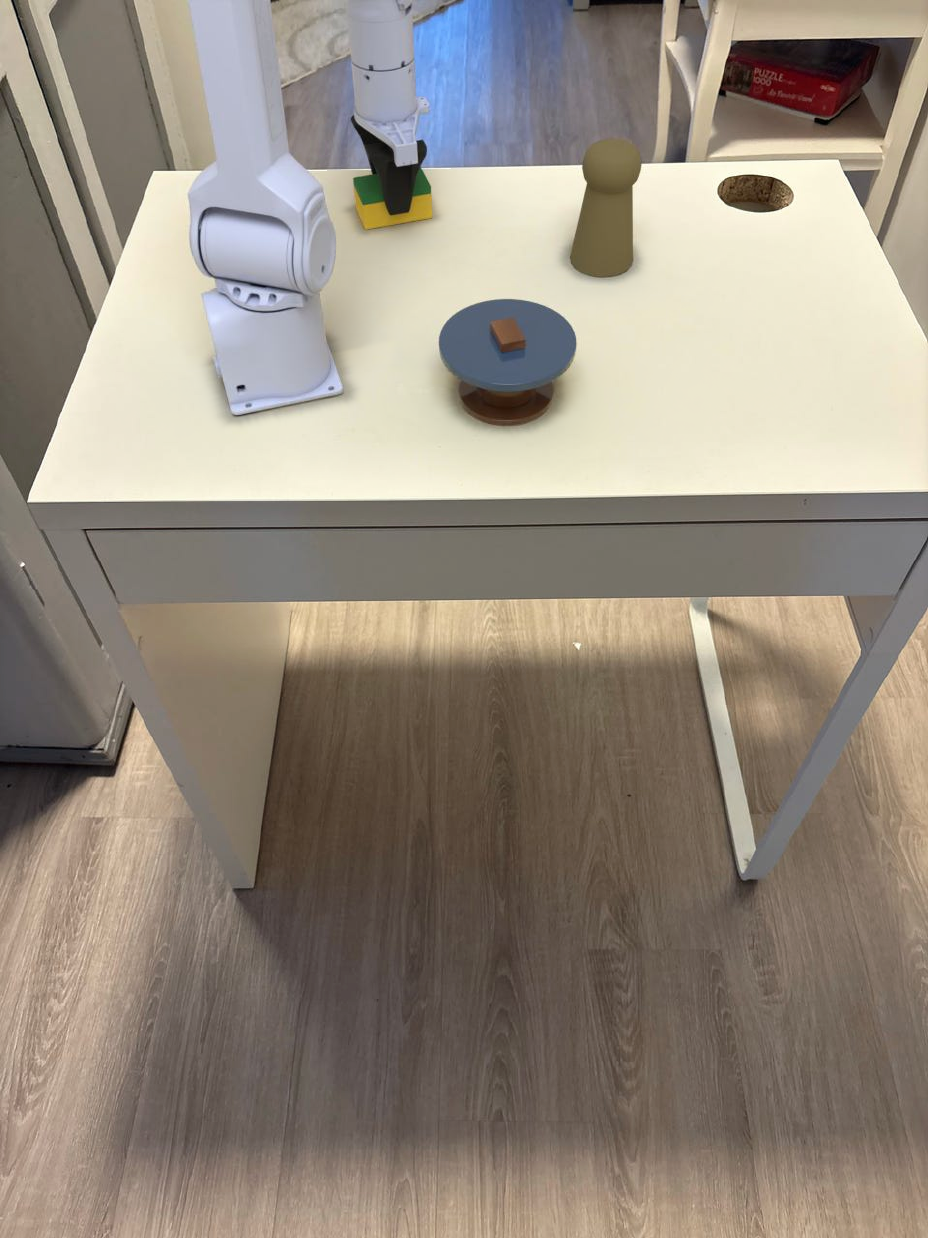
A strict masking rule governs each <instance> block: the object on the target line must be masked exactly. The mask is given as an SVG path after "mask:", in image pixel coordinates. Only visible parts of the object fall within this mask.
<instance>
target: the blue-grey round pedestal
mask: <svg viewBox="0 0 928 1238" xmlns="http://www.w3.org/2000/svg"><path fill="white" fill-rule="evenodd" d="M508 318H514V319H515V321H516V323H517V325H518V326H519V328H520V330H521V332H522V334H523V336H524V337H525V339H526V341H525V348H524V349H519V350H514V351H509V352H504V353H501V351H500V349H499V347H498V345H497V343H496V341H495V339H494V337H493V335H492V333H491V332H490V322H493V321H498V320H503V319H508ZM577 345H578V343H577V335H576V332H575V330H574V328H573V326H572V325H571V323H570V322H569V321H568V320H567V319H566V318H565V317H564V316H563V315H562V314H561V313H559V312H557V311H556V310H554V309H552V308H550V307H549V306H546V305H543V304H541V303H538V302H534V301H530V300H524V299H517V298H496V299H489V300H485V301H480V302H476V303H473V304H470V305H468V306H466V307H464V308H462V309H460V310H458V311H457V312H456V313H454V314H453V315H452V316H450V317H449V319H448V320H446V321H445V323H444V325H443V326H442V328H441V329H440V333H439V335H438V351H439V352H438V353H439V357H440V359H441V361H442V364H443V365H444V366H445V367H446V369H447V370H448V371H449V372H450V373H451V374H452V375H453V376H455V377H456V378H458V379H459V380H460V381H459V383H458V400H459V402H460V405H461V407H462V408H463V409H464V411H465V412H467V413H468V414H469V415H470V416H471V417H472V418H474V419H476V420H478V421H480V422H483V423H486V424H489V425H493V426H501V427H511V426H512V427H513V426H520V425H524V424H528V423H531V422H532V421H535V420H537V419H539V418H541V417H542V416H543V415H544V414H546V413H547V411H548V410H549V409H550V407H551V406H552V404H553V401H554V397H555V385H554V383H553V382H554V381H555V380H557V379H558V378H560V377H561V376H562V375H564V374H565V373H566V372H567V370H568V369H569V368H570V367H571V366H572V364H573V362H574V360H575V357H576V354H577Z"/></svg>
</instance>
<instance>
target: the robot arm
mask: <svg viewBox="0 0 928 1238" xmlns="http://www.w3.org/2000/svg"><path fill="white" fill-rule="evenodd" d="M413 2H414V0H344V4H345V14H346V15H345V16H346V25H347V36H348V45H349V55H350V56H349V57H350V65H351V66H350V67H351V74H352V75H351V76H352V84H353V97H354V105H353V114H352V115H351V117H350V122H351V123H352V126H353V128H354V130H355V131H356V132H357V134H358V136H359V138H360V140H361V143H362V145H363V147H364V151H365V153H366V157H367V160H368V164H369V168H370V171H371V175H372V174H378V177H379V181H380V185H381V189H382V194H383V198H384V202H385V205H386V208H387V210H388V213H389V215H397V214H403V213H408V212H409V211H410V207H411V202H412V197H413V191H414V185H415V181H416V177H417V174H418V171H419V168H420V167H421V166H422V164H423V162H424V160H425V159H426V157H427V155H428V146H427V144H426V142H425V140H424V139H419V140H416V136H417V131H418V124H419V120H420V116H421V115H425V114H428V113H430V103H429V101H428V100H427V98H426V97H425V96H417V82H416V79H417V78H416V59H415V42H414V41H415V40H414V38H415V37H414V19H413V18H414V17H413ZM187 5H188V9H189V16H190V20H191V21H190V22H191V26H192V27H191V28H192V31H193V37H194V38H193V39H194V43H195V48H196V54H197V59H198V64H199V70H200V76H201V81H202V86H203V87H202V88H203V93H204V98H205V103H206V109H207V114H208V120H209V125H210V131H211V137H212V142H213V147H214V153H215V160H214V161H213V162H212V163H210V164H209V165H208V166H207V167H206V168H204V169H203V170H201V172H200V173H199V174H198V175H197V176H196V177H195V178H194V180H193V181H192V184H191V186H190V187H189V190H188V192H187V198H188V204H189V215H190V216H189V217H190V223H189V231H188V232H189V233H188V235H189V236H188V237H189V238H188V239H189V248H190V252H191V253H190V254H191V255H192V258H193V260H194V263H195V266H196V268H197V269H198V270H199V272H200V273H201V274H202V275H203V276H205V277H207V278H211V279H214V283H215V287H214V288H213V289H212V288H211V289H210V290H206V291H204V292H202V293H200V294H201V299H202V303H203V307H204V311H205V312H204V313H205V315H206V320H207V323H208V326H209V331H210V336H211V340H212V343H213V347H214V351H215V354H216V355H214V356H212V358H213V363H214V366H215V370H216V374H217V378H218V379H222V382H223V385H224V390H225V393H226V398H227V401H228V405H229V409H230V413H231V414H232V415H234V416H240V415H244V414H249V413H255V412H260V411H264V410H265V411H266V410H270V409H274V408H275V409H276V408H278V407H284V406H289V405H293V404H294V405H295V404H298V403H304V402H307V401H313V400H318V399H323V398H329V397H332V396H338V395H341V394H342V393H344V386H343V383H342V380H341V377H340V374H339V371H338V370H337V365H336V363H335V360H334V357H333V354H332V351H331V348H330V346H329V343H328V341H327V336H326V335H327V334H326V328H325V322H324V316H323V309H322V302H321V296H320V295H321V294H320V292H321V291H323V289H324V288H325V287H326V286H327V284H328V283H329V281H330V279H331V278H332V275H333V271H334V268H335V263H336V256H337V236H336V229H335V226H334V223H333V221H332V219H331V216H330V213H329V211H328V206H327V202H326V196H325V191H324V185H322V183H321V182H320V181H319V180H318V179H317V178H316V177H315V176H314V175H313V174H312V173H311V172H310V171H308V169H306V167H304V166H303V165H302V164H301V163H300V162H299V161H298V160H297V159H295V157H293V155H292V154H291V153H290V146H289V139H288V131H287V124H286V123H287V122H286V115H285V107H284V100H283V99H284V98H283V91H282V83H281V75H280V74H281V73H280V67H279V59H278V51H277V43H276V35H275V27H274V20H273V13H272V4H271V0H187Z"/></svg>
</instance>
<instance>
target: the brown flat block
mask: <svg viewBox="0 0 928 1238" xmlns="http://www.w3.org/2000/svg"><path fill="white" fill-rule="evenodd" d="M490 332H491V333H492V335H493V337H494V339H495V341H496V343H497V345H498V347H499V349H500V351H501V353H504V352H509V351H514V350H519V349H524V348H525V341H526V339H525V337H524V336H523V334H522V332H521V330H520V328H519V326H518V325H517V323H516V321H515V319H514V318H508V319H503V320H498V321H493V322H490Z"/></svg>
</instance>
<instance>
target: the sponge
mask: <svg viewBox="0 0 928 1238" xmlns="http://www.w3.org/2000/svg"><path fill="white" fill-rule="evenodd" d="M352 183H353V191H354V201H355V210H356V213H357V215H358V216H359V219H360V221H361V224H362V225H363V228H364V230H370V229H371V230H372V229H377V228H383V227H389V226H393V225H399V224H406V223H410V222H411V223H412V222H417V221H422V220H427V219H428V220H429V219H433V202H432V201H433V200H432V198H433V197H432V185H431V184H430V181H429V180H428V178H427V176H426V174H425V172H424V170H423V168H422V167H421V166H420V168H419V171H418V174H417V177H416V181H415V185H414V191H413V197H412V202H411V207H410V211H409V212H408V213H403V214H397V215H389V213H388V210H387V208H386V205H385V202H384V198H383V194H382V189H381V185H380V181H379V177H378V174H372V173H371V174H367V175H361V176H360V175H359V176H355V177H352Z"/></svg>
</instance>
